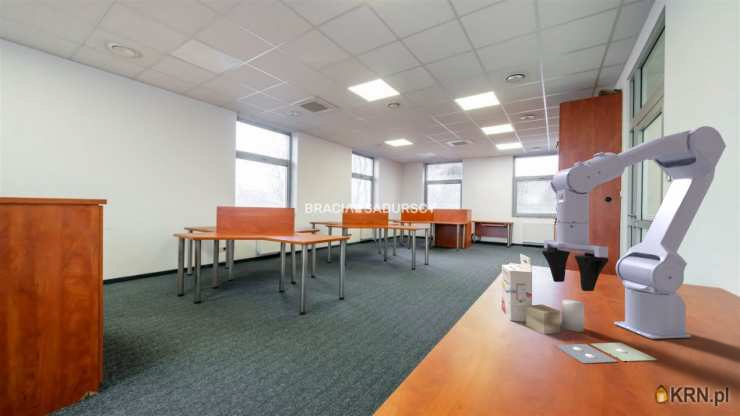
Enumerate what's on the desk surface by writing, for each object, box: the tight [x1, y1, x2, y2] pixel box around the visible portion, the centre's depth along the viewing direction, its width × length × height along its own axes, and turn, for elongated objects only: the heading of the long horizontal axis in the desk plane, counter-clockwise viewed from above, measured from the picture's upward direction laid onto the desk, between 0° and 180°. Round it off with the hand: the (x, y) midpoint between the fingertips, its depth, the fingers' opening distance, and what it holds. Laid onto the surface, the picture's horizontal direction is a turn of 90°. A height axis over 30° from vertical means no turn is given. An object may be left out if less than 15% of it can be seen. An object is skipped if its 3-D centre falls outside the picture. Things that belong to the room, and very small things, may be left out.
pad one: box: [590, 342, 658, 362], centre depth 52 cm, size 6×6×1 cm
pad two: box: [553, 343, 618, 364], centre depth 51 cm, size 6×6×1 cm
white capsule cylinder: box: [560, 299, 585, 333], centre depth 63 cm, size 4×4×6 cm
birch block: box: [525, 304, 562, 335], centre depth 62 cm, size 4×4×4 cm
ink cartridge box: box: [501, 253, 533, 323], centre depth 70 cm, size 9×5×15 cm, turn 168°
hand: (572, 285), depth 62 cm, fingers open, 7 cm apart
